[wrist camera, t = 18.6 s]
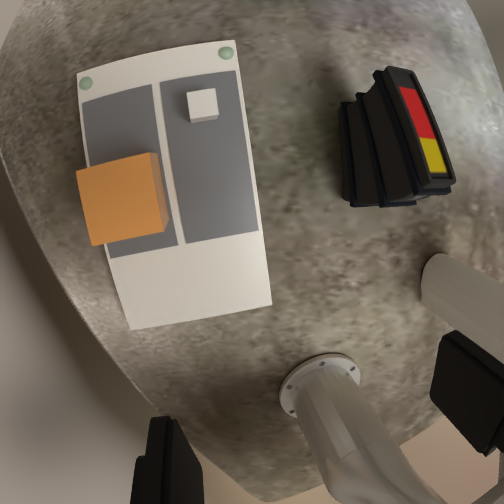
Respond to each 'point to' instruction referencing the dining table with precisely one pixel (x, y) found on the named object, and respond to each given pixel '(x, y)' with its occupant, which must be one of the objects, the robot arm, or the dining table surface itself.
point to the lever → (202, 105)
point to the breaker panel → (181, 183)
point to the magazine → (392, 144)
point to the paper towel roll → (466, 301)
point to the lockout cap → (123, 198)
